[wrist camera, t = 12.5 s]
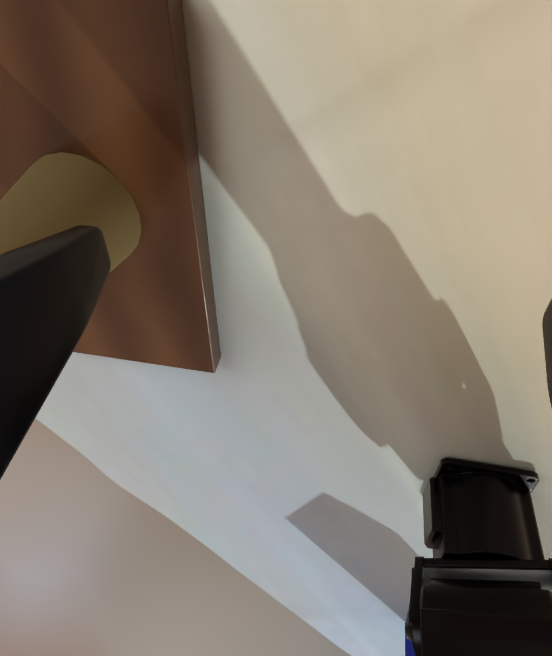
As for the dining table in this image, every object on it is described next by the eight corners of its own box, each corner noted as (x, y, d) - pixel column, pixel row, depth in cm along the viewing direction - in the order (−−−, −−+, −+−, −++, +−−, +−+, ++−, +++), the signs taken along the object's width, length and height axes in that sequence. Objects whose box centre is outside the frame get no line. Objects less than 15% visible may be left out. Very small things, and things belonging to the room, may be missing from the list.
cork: (165, 227, 23) (42, 398, 15) (97, 279, 27) (-34, 442, 19) (66, 125, 21) (-145, 266, 13) (4, 196, 24) (-195, 344, 16)
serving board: (180, -15, 18) (166, -9, 17) (221, 357, 31) (214, 373, 30) (-97, -23, 19) (-126, -18, 18) (55, 333, 33) (43, 348, 32)
